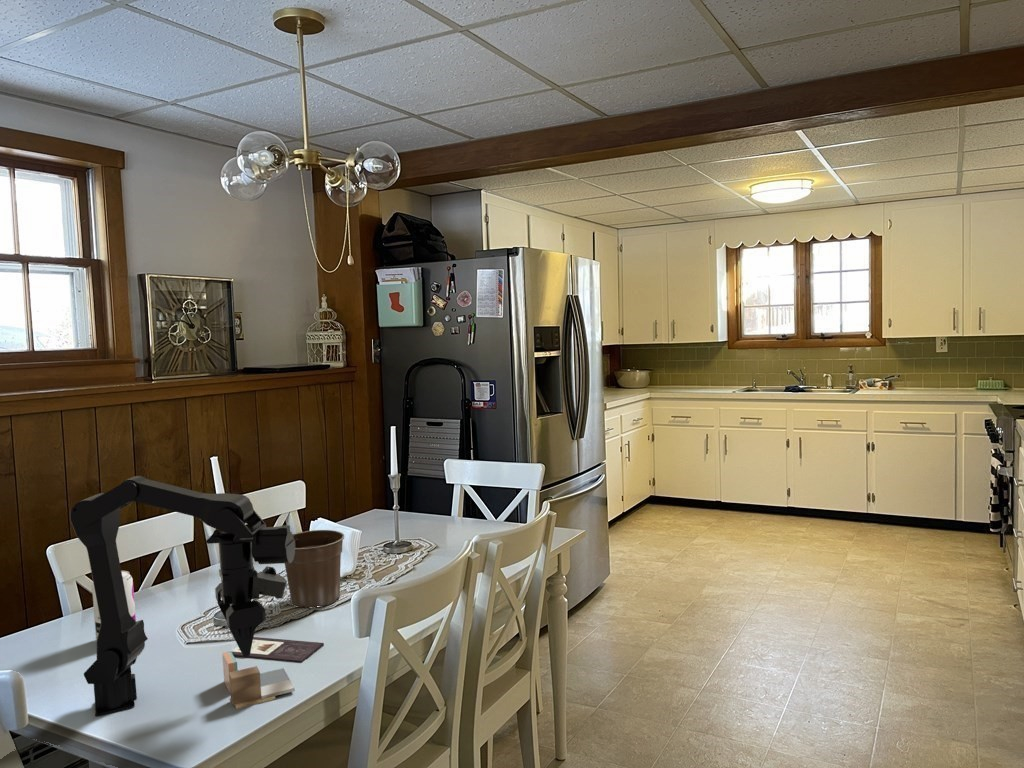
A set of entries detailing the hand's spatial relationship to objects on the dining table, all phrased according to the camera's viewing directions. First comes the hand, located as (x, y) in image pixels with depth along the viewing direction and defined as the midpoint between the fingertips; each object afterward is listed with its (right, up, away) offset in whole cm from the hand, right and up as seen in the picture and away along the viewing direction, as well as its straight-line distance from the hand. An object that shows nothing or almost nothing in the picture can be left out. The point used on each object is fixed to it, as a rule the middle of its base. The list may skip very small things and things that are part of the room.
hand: (242, 646), depth 143 cm
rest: (+2, -10, +2) cm, 10 cm away
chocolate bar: (-1, -9, +23) cm, 25 cm away
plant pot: (0, -7, +53) cm, 54 cm away
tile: (-4, -10, +7) cm, 13 cm away
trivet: (+1, -10, +8) cm, 13 cm away
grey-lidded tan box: (+3, -9, +2) cm, 10 cm away
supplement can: (-40, -10, +32) cm, 52 cm away
